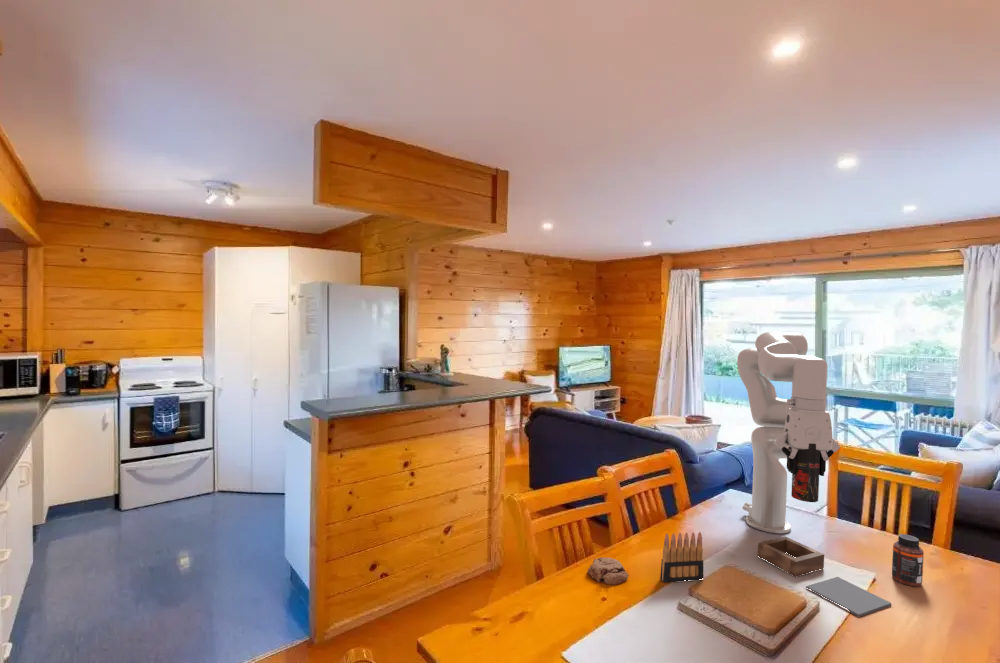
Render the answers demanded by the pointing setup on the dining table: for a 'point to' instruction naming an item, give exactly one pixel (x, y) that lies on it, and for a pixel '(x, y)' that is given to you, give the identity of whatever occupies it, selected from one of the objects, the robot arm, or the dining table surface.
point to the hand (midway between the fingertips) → (805, 472)
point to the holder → (797, 566)
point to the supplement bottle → (907, 561)
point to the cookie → (608, 571)
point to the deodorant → (806, 475)
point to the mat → (849, 596)
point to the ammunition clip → (682, 559)
